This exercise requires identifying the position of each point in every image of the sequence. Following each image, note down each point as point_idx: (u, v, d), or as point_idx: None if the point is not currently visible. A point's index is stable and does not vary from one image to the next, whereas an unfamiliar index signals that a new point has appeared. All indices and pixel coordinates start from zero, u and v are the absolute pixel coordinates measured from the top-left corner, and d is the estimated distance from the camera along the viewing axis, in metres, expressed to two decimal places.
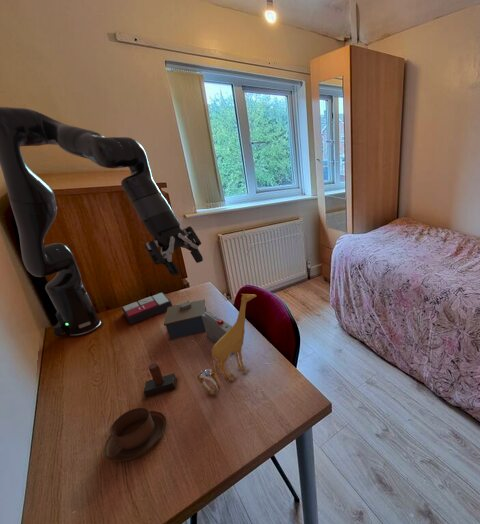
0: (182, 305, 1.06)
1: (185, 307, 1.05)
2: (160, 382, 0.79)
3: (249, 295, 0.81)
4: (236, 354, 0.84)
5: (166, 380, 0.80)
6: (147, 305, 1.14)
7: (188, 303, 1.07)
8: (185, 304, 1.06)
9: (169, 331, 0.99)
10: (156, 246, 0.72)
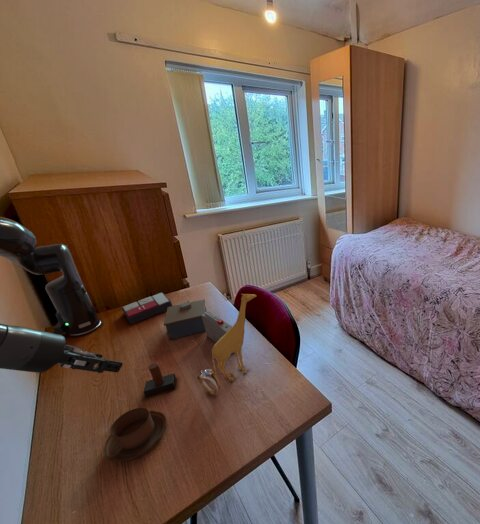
0: (182, 305, 1.06)
1: (185, 307, 1.05)
2: (160, 382, 0.79)
3: (249, 295, 0.81)
4: (236, 354, 0.84)
5: (166, 380, 0.80)
6: (147, 305, 1.14)
7: (188, 303, 1.07)
8: (185, 304, 1.06)
9: (169, 331, 0.99)
10: None
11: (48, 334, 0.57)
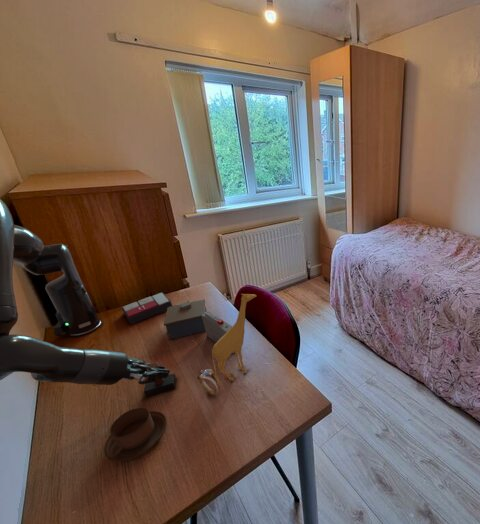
0: (182, 305, 1.06)
1: (185, 307, 1.05)
2: (160, 382, 0.79)
3: (249, 295, 0.81)
4: (236, 354, 0.84)
5: (166, 380, 0.80)
6: (147, 305, 1.14)
7: (188, 303, 1.07)
8: (185, 304, 1.06)
9: (169, 331, 0.99)
10: None
11: (114, 355, 0.68)
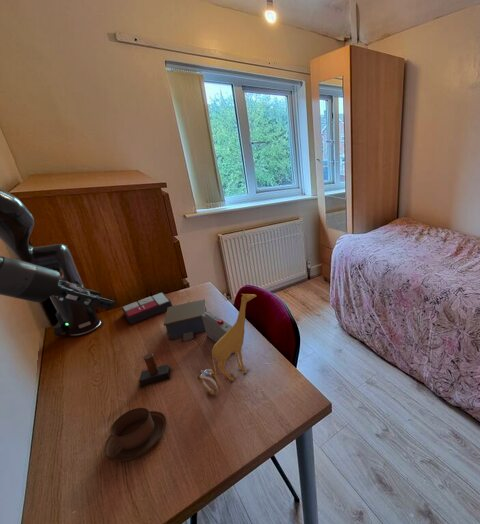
0: None
1: None
2: (155, 372, 0.83)
3: (249, 295, 0.81)
4: (236, 354, 0.84)
5: (160, 370, 0.84)
6: (147, 305, 1.14)
7: None
8: None
9: (169, 331, 0.99)
10: None
11: (43, 269, 0.62)
